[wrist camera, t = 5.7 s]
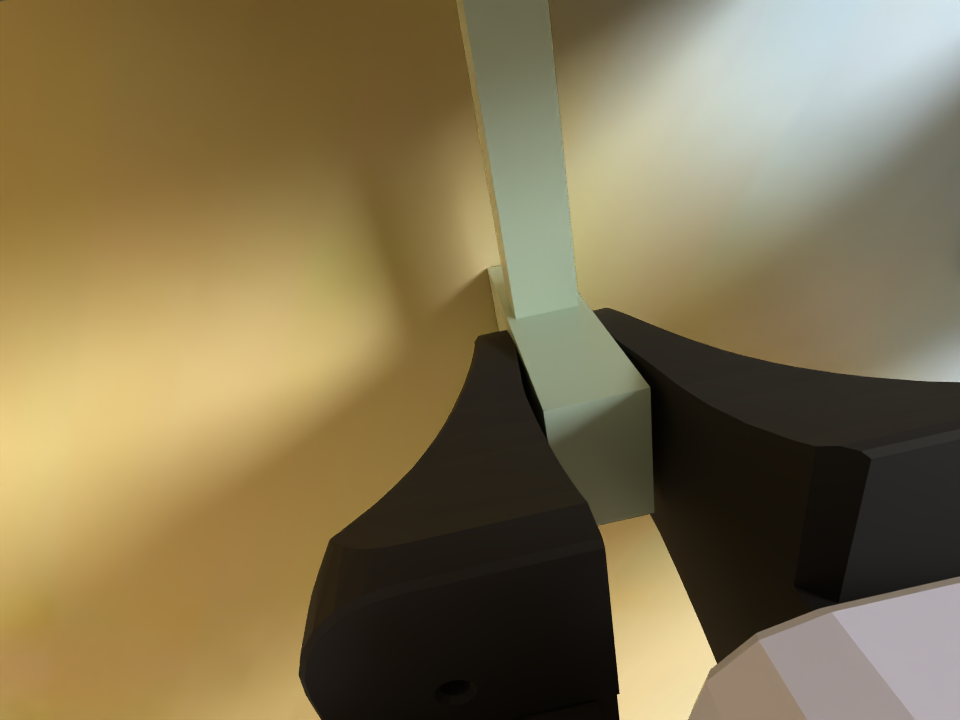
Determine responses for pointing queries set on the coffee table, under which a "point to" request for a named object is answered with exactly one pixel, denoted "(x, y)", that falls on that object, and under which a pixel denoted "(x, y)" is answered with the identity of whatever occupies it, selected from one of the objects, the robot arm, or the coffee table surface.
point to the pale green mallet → (551, 266)
